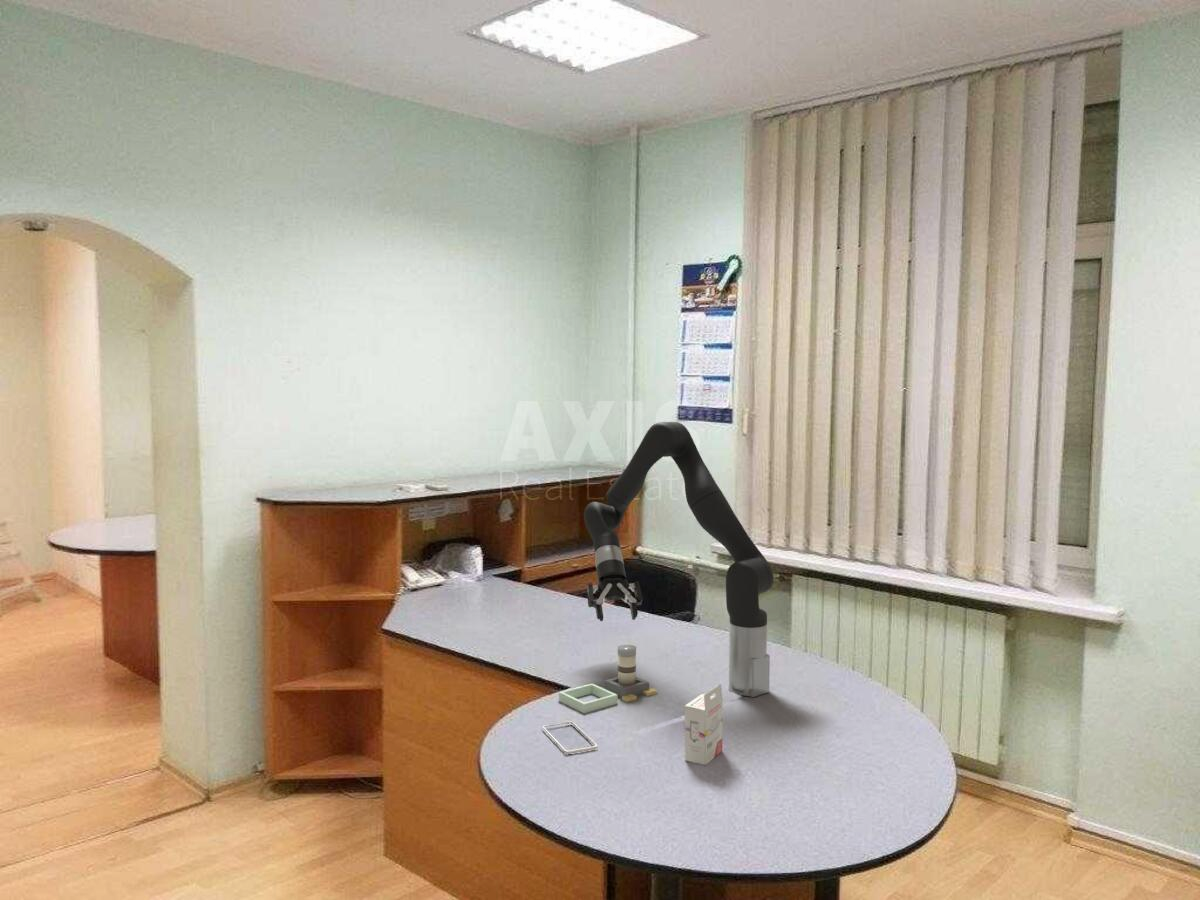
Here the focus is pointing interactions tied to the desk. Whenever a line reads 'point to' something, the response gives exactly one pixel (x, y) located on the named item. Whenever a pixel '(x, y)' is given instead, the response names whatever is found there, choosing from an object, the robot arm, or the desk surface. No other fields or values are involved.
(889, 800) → the desk surface
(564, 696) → the tray
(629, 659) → the grey beige cylinder
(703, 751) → the ink cartridge box
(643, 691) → the holder
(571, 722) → the phone case
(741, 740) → the desk surface
